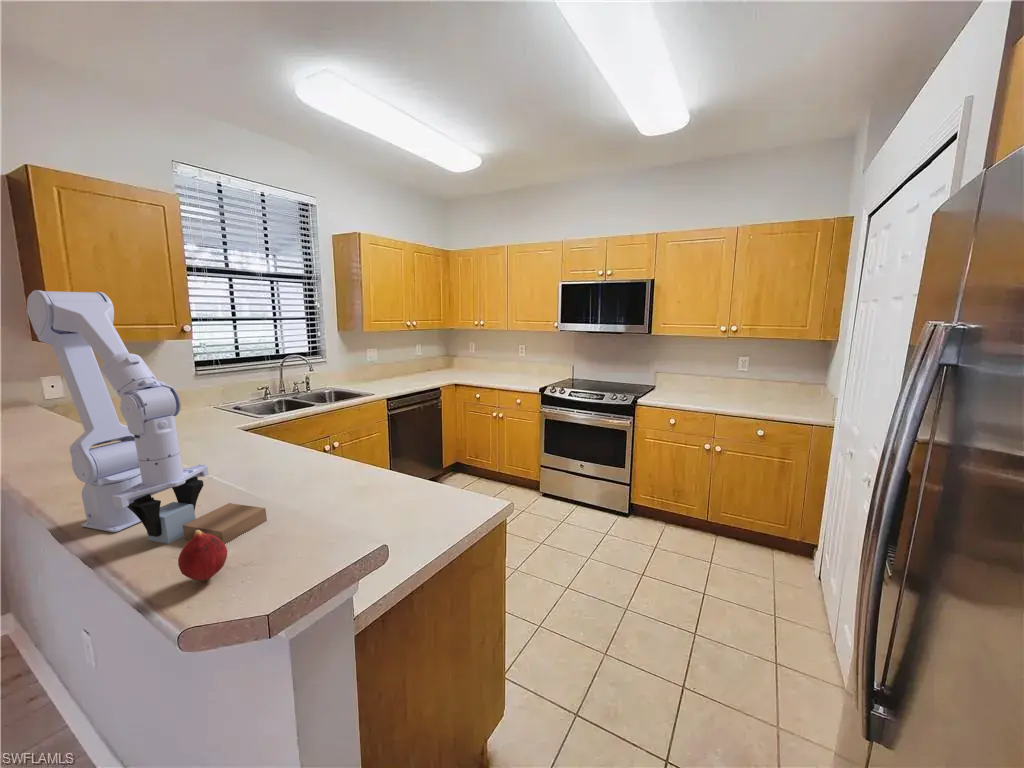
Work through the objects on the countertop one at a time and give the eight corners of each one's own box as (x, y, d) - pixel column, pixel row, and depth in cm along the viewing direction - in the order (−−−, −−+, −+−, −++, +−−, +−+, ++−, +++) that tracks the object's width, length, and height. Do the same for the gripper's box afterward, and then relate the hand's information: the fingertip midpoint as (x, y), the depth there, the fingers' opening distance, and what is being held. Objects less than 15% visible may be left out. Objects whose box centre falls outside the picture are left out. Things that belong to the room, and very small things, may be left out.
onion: (238, 567, 66) (231, 520, 65) (214, 591, 60) (205, 540, 59) (200, 569, 66) (192, 521, 65) (172, 593, 60) (163, 541, 59)
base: (185, 540, 75) (182, 525, 75) (231, 517, 84) (229, 503, 83) (223, 547, 73) (221, 531, 72) (267, 522, 81) (265, 508, 81)
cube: (148, 540, 75) (143, 514, 74) (177, 526, 80) (173, 501, 79) (168, 544, 74) (164, 517, 73) (197, 529, 78) (193, 504, 77)
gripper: (128, 472, 66) (143, 552, 68) (216, 444, 80) (226, 511, 82) (97, 468, 68) (113, 546, 70) (188, 441, 82) (198, 507, 84)
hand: (172, 527), depth 76 cm, fingers closed on cube, 5 cm apart
